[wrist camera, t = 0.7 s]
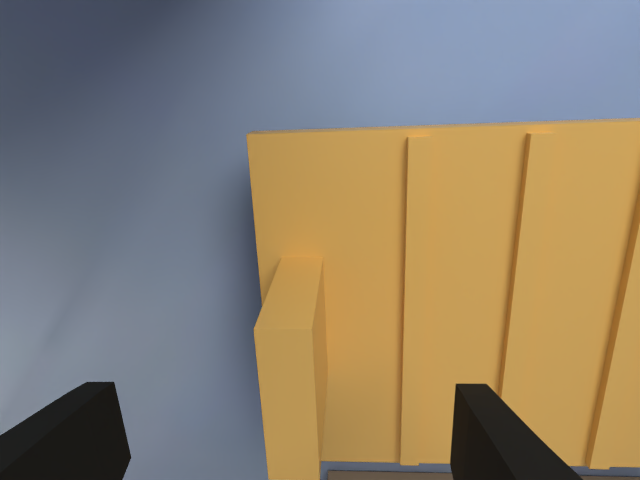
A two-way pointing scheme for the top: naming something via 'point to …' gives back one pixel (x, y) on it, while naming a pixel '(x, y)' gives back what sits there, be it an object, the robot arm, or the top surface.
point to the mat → (424, 476)
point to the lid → (447, 287)
